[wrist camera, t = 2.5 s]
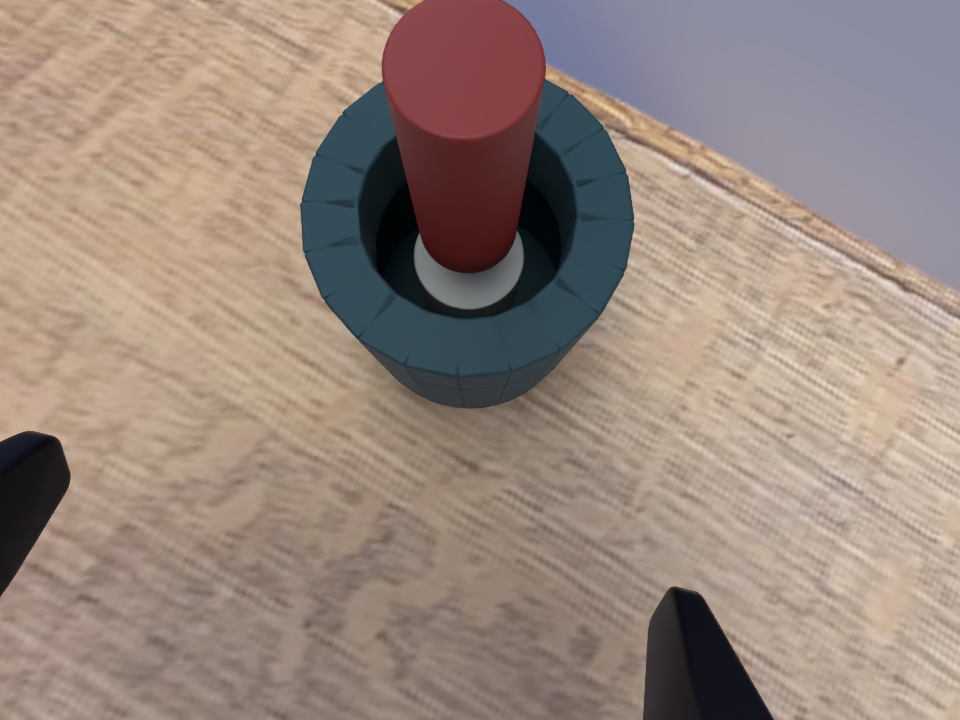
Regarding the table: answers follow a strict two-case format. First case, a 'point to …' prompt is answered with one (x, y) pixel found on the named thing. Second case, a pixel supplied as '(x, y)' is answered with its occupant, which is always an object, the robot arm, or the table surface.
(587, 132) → the teal hollow cylinder
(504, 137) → the red cylindrical rod
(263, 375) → the table surface
